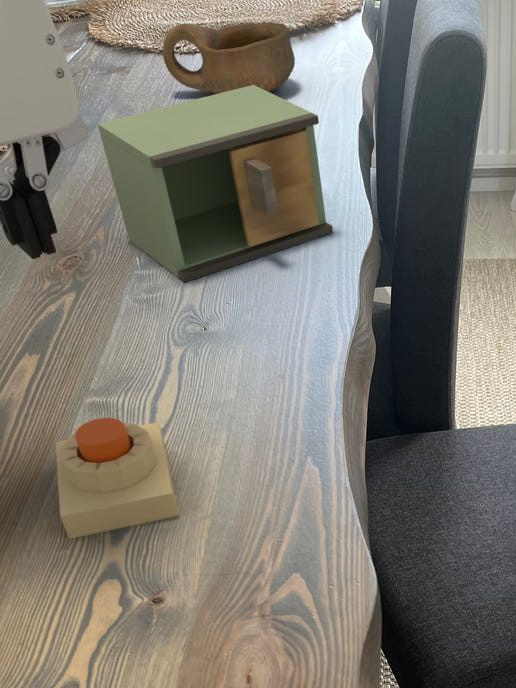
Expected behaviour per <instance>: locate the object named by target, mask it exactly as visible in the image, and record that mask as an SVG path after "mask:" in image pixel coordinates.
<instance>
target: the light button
mask: <svg viewBox="0 0 516 688" xmlns="http://www.w3.org/2000/svg"><path fill="white" fill-rule="evenodd" d="M123 423H124V422H122V421H121V420H120V419H117V418H113V417H100V418H96V419H92V420H89V421H87V422H85V423H83V424H82V425H81V426H79V427H78V428H77V429H76V431H75V433H74V434H75V439H76V441H77V444H78V447H79V450H80V452H81V455H82V457H83V459H84V460H85V461H87V462H92V463H103V462H108V461H113V460H116V459H118V458H120V457H122V456H124V455H126V454H127V453H128V452H129V451H130V449H131V444H130V441H129V438H128V434H127V431H126V428H125V425H124V424H123Z"/></svg>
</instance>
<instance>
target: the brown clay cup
mask: <svg viewBox="0 0 516 688" xmlns="http://www.w3.org/2000/svg"><path fill="white" fill-rule="evenodd" d="M181 41H187V42H189V43H191V44H192V45H193V46H195V47H196V48H197V50H198V51H199V54H200V55H201V59H202V63H201V67H200V68H198V69H197V70H190V69H188V68H186V67H185V66H183V65H182V64H181V63H180V62H179V61H178V59H177V57H176V55H175V47H176V45H177V43H178V42H181ZM162 58H163V61H164V62H163V63H164V65H165V66H166V68H167V71H168V73H169V74H170V75H171V76H172V77H173V78H174V79H175V80H176V81H177V82H178V83H180V84H181V85H182V86H185V87H187V88H190V89H193V90H198V91H202V92H206V93H211V94H214V95H215V94H219V93H223V92H227V91H231V90H235V89H239V88H243V87H247V86H251V85H255V86H257V87H259V88H261V89H263V90H265V91H267V92H269V93H271V92H272V91H275V90H276V89H277V88H279V87H281V86H282V85H284V84H285V82H287V80H288V79H289V78H290V76H291V74H292V72H293V70H294V68H295V63H296V58H295V54H294V50H293V47H292V42H291V31H290V28H289V27H287V26H286V25H285V24H284V23H279V22H257V23H256V22H255V23H254V22H243V23H240V24H236V25H235V24H231V25H229V26H224V27H222V28H219V29H214V28H212V27H205V26H200V25H196V24H191V23H181V24H177V25H175V26H173V27H172V28H170V29H169V31H168V32H167V34H166V35H165V38H164V40H163V43H162Z"/></svg>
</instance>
